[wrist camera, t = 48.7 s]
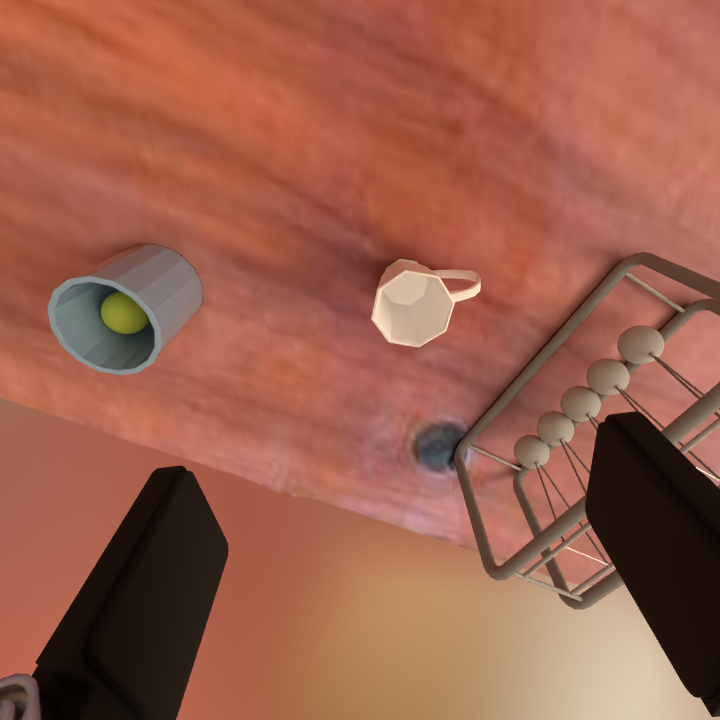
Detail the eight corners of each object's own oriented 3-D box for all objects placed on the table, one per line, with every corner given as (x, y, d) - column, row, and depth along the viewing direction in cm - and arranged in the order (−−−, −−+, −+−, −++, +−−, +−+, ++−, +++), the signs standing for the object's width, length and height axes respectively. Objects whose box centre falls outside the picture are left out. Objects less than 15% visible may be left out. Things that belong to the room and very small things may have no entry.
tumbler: (100, 251, 39) (25, 285, 30) (184, 237, 38) (132, 268, 30) (138, 330, 43) (81, 380, 35) (214, 319, 43) (176, 367, 34)
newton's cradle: (632, 244, 38) (813, 320, 23) (705, 295, 41) (913, 394, 26) (449, 451, 51) (487, 588, 36) (513, 480, 54) (574, 620, 39)
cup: (361, 253, 39) (362, 280, 32) (465, 230, 38) (489, 252, 31) (376, 318, 42) (379, 355, 35) (472, 298, 41) (494, 332, 34)
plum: (120, 278, 36) (107, 287, 38) (99, 317, 34) (87, 324, 37) (163, 301, 38) (148, 308, 41) (145, 338, 37) (131, 343, 40)
